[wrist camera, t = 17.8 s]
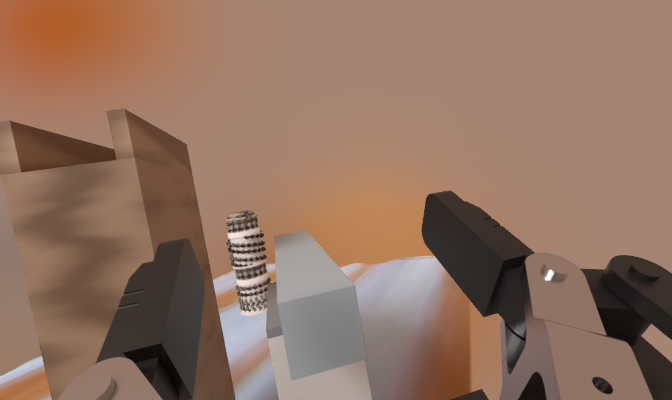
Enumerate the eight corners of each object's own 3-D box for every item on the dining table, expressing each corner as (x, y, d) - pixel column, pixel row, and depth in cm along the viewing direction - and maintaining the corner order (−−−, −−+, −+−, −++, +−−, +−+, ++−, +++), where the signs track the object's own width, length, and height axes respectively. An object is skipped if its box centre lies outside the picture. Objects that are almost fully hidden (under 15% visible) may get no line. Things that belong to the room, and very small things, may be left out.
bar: (291, 380, 14) (277, 303, 14) (279, 267, 35) (274, 236, 35) (367, 359, 15) (355, 285, 14) (311, 260, 35) (305, 230, 35)
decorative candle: (277, 298, 84) (261, 207, 82) (274, 311, 74) (256, 210, 73) (243, 305, 83) (226, 213, 81) (236, 319, 73) (216, 216, 72)
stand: (114, 675, 20) (-11, 122, 18) (179, 476, 33) (113, 153, 31) (229, 626, 21) (124, 108, 19) (245, 454, 35) (186, 144, 33)
